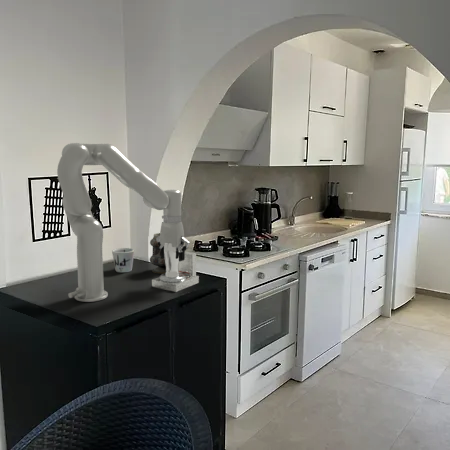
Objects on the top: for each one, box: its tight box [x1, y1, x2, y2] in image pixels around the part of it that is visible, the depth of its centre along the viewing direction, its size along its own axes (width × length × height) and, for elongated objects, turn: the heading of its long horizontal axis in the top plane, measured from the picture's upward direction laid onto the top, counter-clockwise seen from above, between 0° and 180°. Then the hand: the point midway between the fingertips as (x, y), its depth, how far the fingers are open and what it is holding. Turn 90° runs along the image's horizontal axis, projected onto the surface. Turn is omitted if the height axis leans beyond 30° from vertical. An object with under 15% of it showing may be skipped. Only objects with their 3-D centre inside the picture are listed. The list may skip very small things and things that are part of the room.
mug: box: [111, 247, 135, 273], centre depth 223 cm, size 10×15×10 cm
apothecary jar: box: [149, 232, 166, 275], centre depth 220 cm, size 12×12×18 cm
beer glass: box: [164, 242, 180, 278], centre depth 196 cm, size 7×7×15 cm
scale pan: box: [159, 273, 186, 283], centre depth 198 cm, size 12×11×1 cm
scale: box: [151, 251, 200, 293], centre depth 199 cm, size 16×13×13 cm
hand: (172, 259), depth 196 cm, fingers open, 9 cm apart
